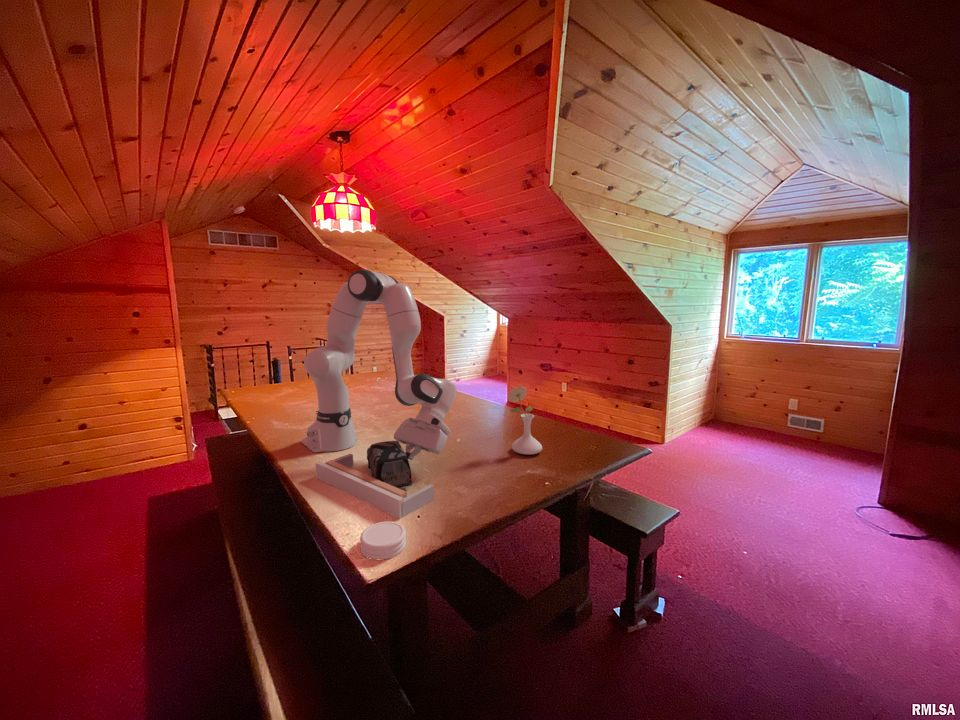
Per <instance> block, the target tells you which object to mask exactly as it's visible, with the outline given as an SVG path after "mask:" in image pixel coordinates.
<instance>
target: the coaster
mask: <svg viewBox="0 0 960 720" xmlns="http://www.w3.org/2000/svg"><path fill="white" fill-rule="evenodd" d="M406 534H407V532H406V529H405V527H404V526H403V525H402V524H400V523H398V522H395V521H380V522H376V523H374V524H371V525H369V526H368V527H367V528H365V529H364V530H363V531H362V533H361V534H360V535H359V536H360V538H359V541H360V543H359V545H360V552H361V554H362V555H363V556H364V557H365V556H366V557H368V558H371V559H370V560H372V559H385V560H388V558H389V559H392V558H394V557H396V556H397V555H399V554H401V553H402V552H403V551H404V550H405V547H406V545H407V539H406V538H407V536H406ZM366 557H365V558H366ZM368 558H367V559H368Z"/></svg>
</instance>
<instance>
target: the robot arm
mask: <svg viewBox="0 0 960 720" xmlns="http://www.w3.org/2000/svg"><path fill="white" fill-rule="evenodd" d="M369 304H376V305H377V304H378V305H382V307H384V311H385V314H386V320H387V324H388V330H389V335H390V340H391V341H390V342H391V348H392V349H391V350H392V352H391V353H392V357H393V365H394V369H395V370H394V372H395V386H394V395H395V398H396V400H397V402H398V403H400V404H401V405H403V406H406V407H411V406H412V407H413V406H415V405H417V404H420V405H421V407H420V410H419V411H418V413H417V415H416V416H415V418H412V417H409V418H407V419H404V421H403V422H401V424H400V425H399V426H398V427H397V429H396V431H395V432H394V434H393V439H394V441H398V442H399V444H404V445H406V446H405V451H404V452H405V454H406V456H407V458H408V461H413V460H414V458H415V457H416V456H417V455H419V454H420V453H421V451H422V450H423V451H425V452H429V453H432V454H434V455H439V454H440V453H441V452H442V451H443V450H444V447H445V445H446V444H447V441H448V436H449V435H450V434H451V432H452V431H451V429H450V428H449V426H447V424H446V423H444V421H445V418H446V415H447V414H448V413H449V412H450V410H451V408H452V406H453V403H455V399H456V396H457V392H458V391H457V387H456V385H455V383H453V382H452V381H451V380H449V379H447V378H436V377H432V376H431V375H429V374H427V373H418V374H414V367H413V360H412V348H413V345H414V343H415V341H416V340H417V339H418V337H419V335H420V333H421V330H422V324H421V323H422V321H421V316H420V312H419V309H418V305H417V302H416V299H415V296H414V293H413V292H412V290H411V287H409V285H407V284H404V283H399V281H398V280H397V279H396V278H394V277H393V276H391V275H387V274H386V273H382V272H379V271H372V270H369V269H358V270H354V271H353V272H352V273H351V274H350V275H349V277H348V279H347V282H344V283H342V285H341V286H340V288H339V289H338V291H337V293H336V295H335V297H334V300H333V303H332V306H331V308H330V311H329V314H328V318H327V322H326V324H325V329H326V331H327V336H326V337H327V338H326V339H327V340H326V343H325V345H324V346H319V347H315V348H314V349H312V350H311V351H310V352H309V353H308V354H307V355H306V356H305V358H304V361H303V365H304V369H305V371H306V372H307V374H309V376H311V378H312V380H313V383H314V386H315V388H316V394H317V404H318V410H316V411H315V412H316V413H315V415H316V419H315V420H314V422H313V423H312V424H311V425H309V426H308V428H307V431H306V437H305V438H302V440H301V444H302V445H304V446H305V447H306V446H307V447H306V448H308V449H309V451H311V450H312V451H311V452H312V453H321V452H337V451H342V450H346V449H349V448H352V447H353V446H355V444H356V441H357V440H359V438H358V435H356V432H355V424H354V420H353V419H352V411H351V407H350V395H349V393H350V392H349V388H348V387H347V386H346V384H345V382H344V379H343V375H342V372H344V371H346V370H347V369H349V368H350V367H352V365H353V364H354V363H355V360H356V352H355V346H356V345H355V344H356V338H357V335H358V331H359V327H360V325H361V322H362V318H363V315H364V313H365V309H366V307H367V305H369Z"/></svg>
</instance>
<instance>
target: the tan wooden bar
mask: <svg viewBox="0 0 960 720" xmlns="http://www.w3.org/2000/svg"><path fill="white" fill-rule="evenodd" d="M332 460H333V459H331V460H328V461H325V462H326V464H327V465H329V466H332V467H334V468H336V469H339V470H341V471H343V472H345V473H348V474H350V475H352V476H354V477H357V478H359V479H361V480H364V481H366V482H368V483H370V484H373V485H375V486H377V487H380V488H382V489H384V490H386V491H389V492H391V493H393V494H396V495H398V496H400V497H402V498H405V497H407V496H408V494H407V492H408V491H406V490H403V489H401V488H396V487H394V486H392V485H389V484H387V483H385V482H382V481H380V480H377V479H375V478H373V476H370V475H368V474H365V473H362V472H360V471H358V470H356V469H354V468H352V467H347V466H344V465H342V464H339V463H337V462H335V461H332Z"/></svg>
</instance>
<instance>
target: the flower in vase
mask: <svg viewBox="0 0 960 720" xmlns="http://www.w3.org/2000/svg"><path fill="white" fill-rule="evenodd" d="M527 390H528V389H527V387H524V386H523V385H518V386H517V385H516V386H515V387H513V388H512V389H511V390H509V392H508V394H507V399H508V402H511V403H517V402H519V404H520V407H516V406H515V407H514V408H512V409H511V410H510V413H514V414H515V413H519V412H520V411H522V414H520V418H521V419H522V421H523V434H522V435H521V436H520V437H519V438H517V439H516V440H514V441H513V442H512V444H511V449H512V450H513V451H514V452H515V453H517V454H521V455H530V456H531V455H535V454H538V453H541V451H542V450H543V445H542V444H541V443H540V441H538V440H537V439H536V438H535V437H533V436H532V434H531V426H532V425H531V424H532V421H533V419H534V417H535V415H534V414H532V413H529V412H532V410H533V409H534V404H532V405H530V406H528V407H526V408H525V410H524V409H523V407H522V402H521V401H522V400H524V399H525V398H526V396H527V395H528V391H527Z"/></svg>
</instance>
